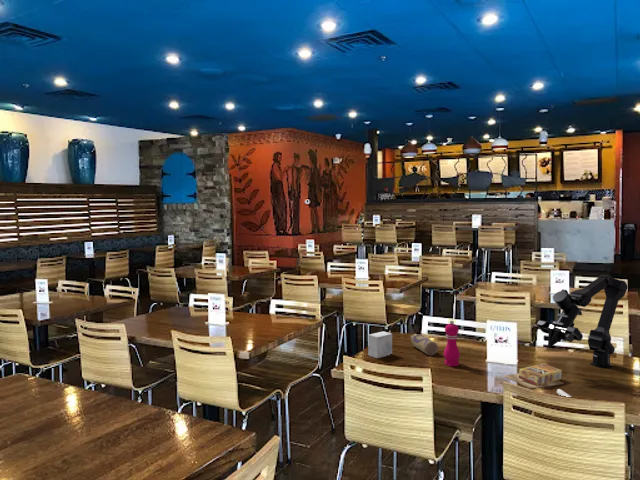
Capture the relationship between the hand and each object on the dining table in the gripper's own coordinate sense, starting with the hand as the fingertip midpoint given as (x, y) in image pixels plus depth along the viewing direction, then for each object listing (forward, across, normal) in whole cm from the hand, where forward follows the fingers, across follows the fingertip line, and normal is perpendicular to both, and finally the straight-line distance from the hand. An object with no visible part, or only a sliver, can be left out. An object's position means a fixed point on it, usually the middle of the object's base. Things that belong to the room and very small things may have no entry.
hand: (549, 346), depth 220 cm
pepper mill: (+24, +35, +6) cm, 43 cm away
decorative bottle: (+20, +62, +2) cm, 65 cm away
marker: (+21, -22, +1) cm, 30 cm away
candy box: (+6, 0, -9) cm, 11 cm away
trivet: (+15, +2, -4) cm, 15 cm away
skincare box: (+38, +64, +19) cm, 76 cm away
